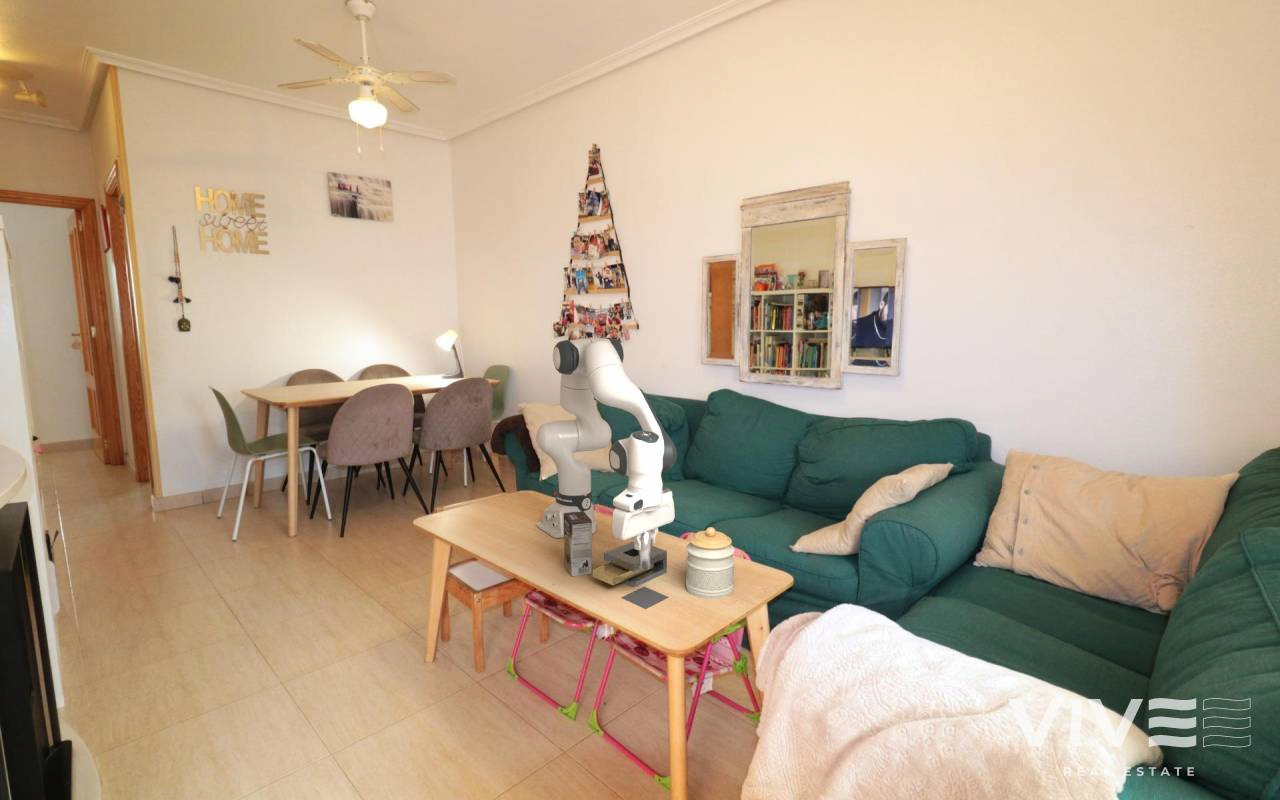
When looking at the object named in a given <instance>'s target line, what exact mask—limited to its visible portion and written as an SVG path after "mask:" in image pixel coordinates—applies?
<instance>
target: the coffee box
mask: <svg viewBox="0 0 1280 800" xmlns="http://www.w3.org/2000/svg"><path fill="white" fill-rule="evenodd" d="M563 539H564V541H563V546H564V548H563V549H564V550H563V551H564V565H565V567H566V569H567V571H568V573H569V575H570V576H571V577H578V576H586V575H593V534H592V520H591V519H590V518H589V517H588V516H587V515H586V513H585V512H584V511H582V512H570V513H564V537H563Z"/></svg>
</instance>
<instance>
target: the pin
mask: <svg viewBox="0 0 1280 800" xmlns="http://www.w3.org/2000/svg"><path fill="white" fill-rule="evenodd" d="M639 539H640V542H643V549H640V550H639V568H640V569H643V570H647V569H649V568H650V552H651V530H650V531H647V532H645V533H642V534H641V537H640V538H639Z"/></svg>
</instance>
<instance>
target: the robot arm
mask: <svg viewBox="0 0 1280 800" xmlns="http://www.w3.org/2000/svg"><path fill="white" fill-rule="evenodd" d="M624 355H625V354H624V348H623V346H622V344H621V342H620V341H619V339H616V338H612V337H606V338H605V337H587V338H577V339H576V338H575V339H564V340H561V341H559V342H557V343H556V344H555V346H554V347H553V353H552V362H553V365H554V368H555V370H556V371H557V372H558V373H559V374H560V389H559V390H560V393H559V404H560V406H561V408H562V409H563V410H564V411H566V412H567V413H569V414H572V415H573V416H576V418H574V419H569V420H568V419H566V420H554V421H549V422H546V423H542V424H541V425H540V426H539V427H538V429H537V430H536V433H535V441H536V442H535V443H536V445H537V446H538V449H540V450H541V452H543V453H544V454H546V455H547V456H548V457H549V458H550V459H551V460H552V461H553V463H554V465H555V468H556V470H557V478H558V491H554V492H553V493H554V495H553V496H556V497H555V500H554V501H553V502H552V503H551V504H550V505H549V506H547V507H546V508H545V509H544V511H543V517H542V518H543V519H541V520H539V521H538V522H537V523H536V527H537V528H539V529H540V530H542V531H543V532H545V533H546V534H548V535H549V536H551V537H552V538H554V539H560V538H563V539H564V513H570V512H582V511H584V512H585V513H586V515H587V516H588V517H589V518H590V519H591V520H592V535H593V534H595V533H596V532H597V526H598V522H597V521H596V518H595V507H594V504H593V497H594V495H593V490H592V471H591V469H590V467H589V466H588V464H586V463H584V462H582V461H580V460H577V459H575V456H574V454H575V453H581V452H591V451H593V452H594V451H598V450H601V449H605V448H607V447H608V446H609V444H610V442H611V440H612V429H611V427H610V424H609V423H608V422H607V421H606V420H604V419H603V418H602V417H601V416H599V414H598V412H597V411H596V408H595V407H596V406H595V400H597V401H598V402H599V403H601V404H603V405H605V406H608V407H612V408H616V409H619V410H622V411H625V412H628V413H630V414H632V415H633V416H634V417H635V418H636V419H637V421H638V423H639V425H640V427H641V429H642V430H636V431H634V432H632V433H631V434H630V435H629V437H627V438H623V439H619V440H616V441H615V442H614V443H612V445H611V447H610V449H609V452H608V463H609V466H610V468H611V469H612V471H614V472H615V473H616V474H617V475H620V476H627V477H628V482H627V487H626V488H625V489H624V490H623V491H621V493H619V494H618V495H616V496H615V497H614V498H613V500H612V504H613V506H614V507H615V508H614V510H613V512H612V518H611V519H612V520H611V534H612V535H613V537H614V538H615V539H617V540H620V541H626V540H629V539H632V542H633V541H634V547H635V549H637V550H640V549H643V542H640V539H639V538H640V537H641V534H642V533H645V532H647V531H650V530H651V545H652V546H653V545H654V544H655V541H656V538H657V535H658V532H659V527H663V526H666V525H668V524H670V523H672V522H673V521H674V520H675V518H676V516H675V501H674V499H673V492H672V490H671V489H670V488H668V487H667V488H664V489H663V484H664V483H663V480H662V473H667V472H668V471H670V469H672V467H673V466H674V464H675V463H676V461H677V457H678V456H677V455H678V453H677V451H678V450H677V447H676V445H675V443H674V441H673V440H672V439H671V438H670V436H669V435H668V434H667V432H666V431H665V428H664V427H663V425H662V423H661V420H660V419H659V417H658V416H657V413H656V411H655V410H654V407H653V406H652V404H651V401H649V398H648V397H647V395H646V393H645V391H644V390H642V389H641V388H640V387H639V386H637V385H636V384H635V383H634V382H633V381H632V380H631V379H630V377H629V376H628V375H627V373H626V369H625V367H624V365H623V363H624Z"/></svg>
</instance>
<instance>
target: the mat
mask: <svg viewBox="0 0 1280 800" xmlns="http://www.w3.org/2000/svg"><path fill="white" fill-rule="evenodd" d="M620 598H621V599H622V600H625V601H626V602H629V603H631V604H633V605H636V606H638V607H640V608H642V609H644V610H647V609H649V608H651V607H653V606H655V605H657V604H659V603H662V602H663V601H664V600H666V599H669V598H670V597H669V596H668V595H665V594H662V593H661V592H658V591H656V590H654V589H651V588H649V587H646V586H642V587H640V588H638V589H635V590H633V591H632V592H630V593H627V594H625V595H624V596H620Z"/></svg>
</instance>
